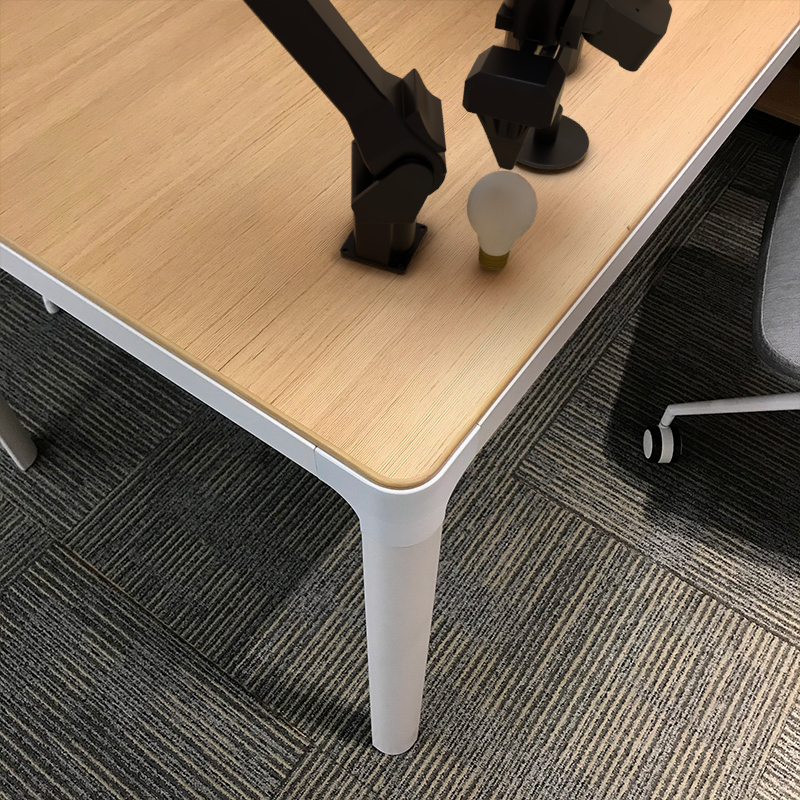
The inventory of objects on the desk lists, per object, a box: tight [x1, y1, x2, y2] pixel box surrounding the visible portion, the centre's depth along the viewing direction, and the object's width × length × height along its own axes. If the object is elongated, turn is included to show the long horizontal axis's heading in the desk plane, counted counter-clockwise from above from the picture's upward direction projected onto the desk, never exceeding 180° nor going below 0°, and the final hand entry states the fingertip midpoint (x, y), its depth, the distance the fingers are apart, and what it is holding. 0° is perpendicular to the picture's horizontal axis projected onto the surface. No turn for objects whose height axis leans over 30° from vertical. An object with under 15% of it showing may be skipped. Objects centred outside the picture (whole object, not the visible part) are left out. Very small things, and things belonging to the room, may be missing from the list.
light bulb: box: [466, 170, 538, 272], centre depth 66 cm, size 6×6×10 cm
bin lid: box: [516, 103, 590, 170], centre depth 79 cm, size 9×9×5 cm
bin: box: [503, 31, 585, 77], centre depth 88 cm, size 9×9×6 cm
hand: (520, 133), depth 62 cm, fingers open, 9 cm apart
